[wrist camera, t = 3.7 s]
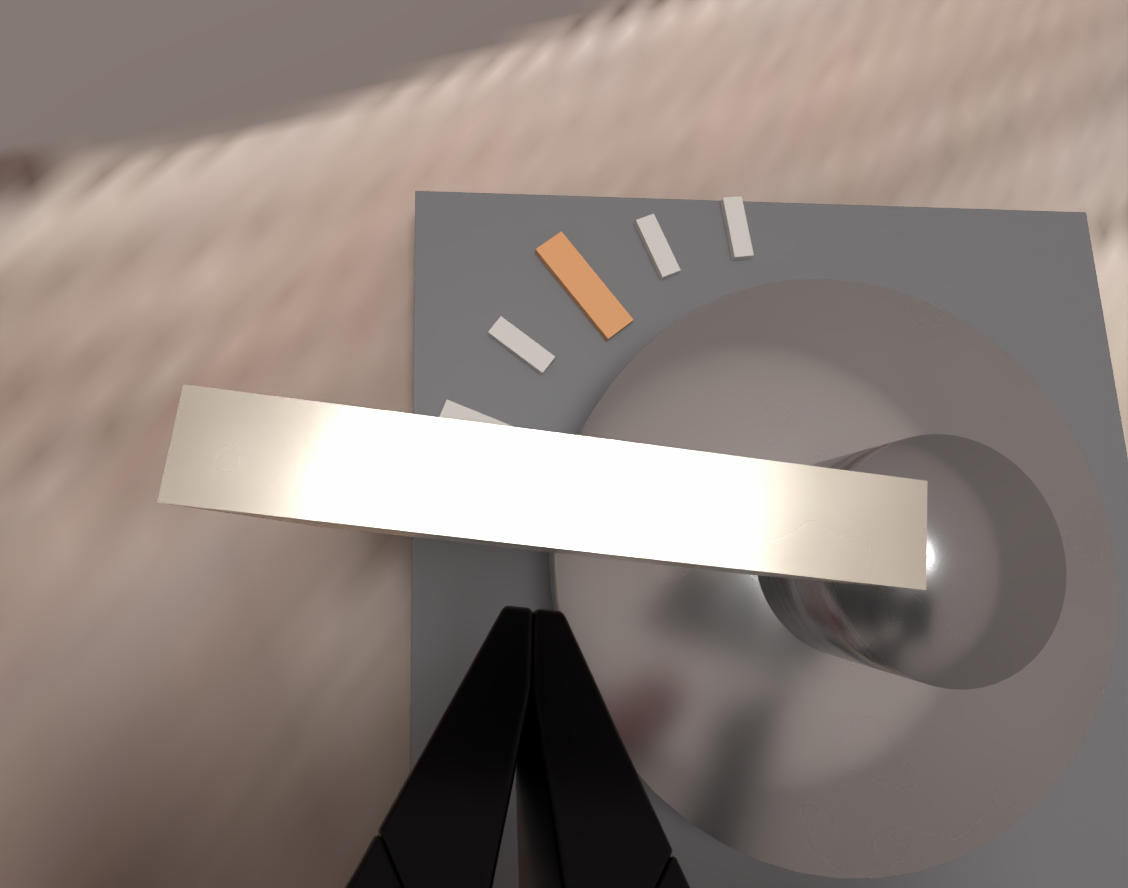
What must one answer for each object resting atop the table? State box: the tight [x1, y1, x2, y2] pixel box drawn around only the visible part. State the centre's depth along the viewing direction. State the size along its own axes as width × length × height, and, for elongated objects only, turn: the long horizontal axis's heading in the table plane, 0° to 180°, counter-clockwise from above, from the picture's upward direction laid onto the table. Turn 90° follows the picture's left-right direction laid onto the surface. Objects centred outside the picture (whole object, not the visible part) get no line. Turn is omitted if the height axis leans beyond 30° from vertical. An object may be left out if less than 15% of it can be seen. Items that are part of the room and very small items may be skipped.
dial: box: [157, 279, 1117, 878], centre depth 11 cm, size 16×12×8 cm
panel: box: [410, 191, 1128, 888], centre depth 16 cm, size 18×18×1 cm
